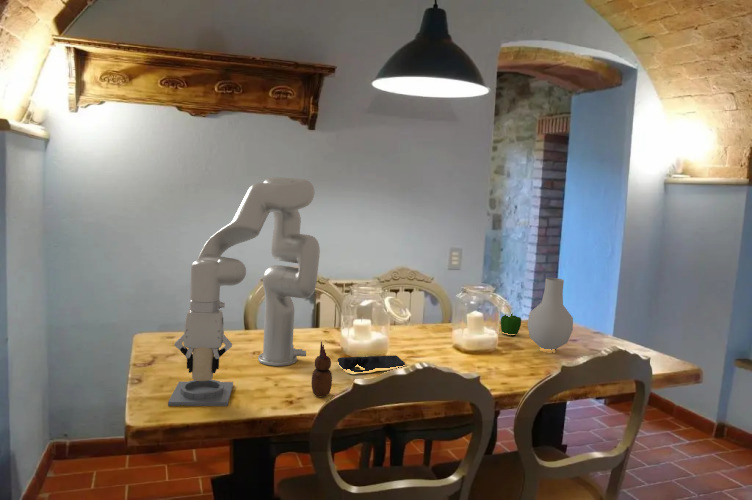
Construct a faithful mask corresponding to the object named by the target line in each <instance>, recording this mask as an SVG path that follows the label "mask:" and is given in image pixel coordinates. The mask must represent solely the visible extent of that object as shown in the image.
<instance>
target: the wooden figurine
mask: <svg viewBox="0 0 752 500" xmlns="http://www.w3.org/2000/svg"><path fill="white" fill-rule="evenodd" d="M331 366H332V360H331V357H330V356H328V355H327V352H326V349H325V344H323V342H322V341H320V347H319V355H317V356H316V357H315V359H314V367H315V369H314V370H313V371H312V374H311V391H312V394H313V395H314V396H315V395H316V396H315V397H317V396H325V397H328V396H329V395H330V392H331V389H332V385H333V374H332V373H333V372H331V369H330V368H331Z"/></svg>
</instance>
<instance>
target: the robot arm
mask: <svg viewBox="0 0 752 500" xmlns="http://www.w3.org/2000/svg"><path fill="white" fill-rule="evenodd" d="M314 197H315V187H314V185H313V183H312V182H311V181H310V180H309V179H304V178H294V177H293V178H292V177H279V176H273V177H268V178H266V179H265V180H264V181H263V182H258V183H253V184H252V185H250V187H249V188H248V189H247V191H246V193H245V195H244V197H243V199H242V201H241V203H240V205H239V206H238V208H237V210H236V213H235V214H234V216H233V218H232V220H231V221H230V222H229V223H228V224H227V225H224V226H223V227H222V228H221V229H219V230H218V231H217V232H215V233H214V234H212V236H210V237H209V239H207V240H206V242H205V243H204V244H203V247H202V248H201V250H200V253H199V255H198V257H197V259H196V260H194V261H193V262H192V264H191V268H190V296H189V297H190V303H189V309H188V310H187V312H186V316H185V320H184V321H185V323H184V331H183V334H182V335H181V336H180V337H179V339H177V340H176V341H175V342H174V343H173V344H174V345H173V346H174V347H175V348H177V349H178V350H179V351H180V352H181V353H182V354H183V355H184V357H185V358H186V370H188V373H190V374H192V362H193V349H194V348H199V347H205V348H210V349H212V350H213V353H214V358H213V370H212V373H213V374H216V372H217V370H219V368H220V358H221V357H222V356H223V355H224V354H225V353H226V352H227V351H228V350H230V349H231V348H232V347H233V343H232V342H231V341H230V340H229V338H228V337H227V336H226V335H225V328H224V327H225V326H224V325H225V323H224V315H223V310H221V309H222V308H225V307H226V303H225V302H222V301H221V299H220V298H221V297H220V295H221V293H220V291H221V286H229V287H231V286H237V285H238V284H240V283H242V282H243V281H244V279H245V277H246V275H247V267H246V265H245V264H244V262H242V261H241V260H239V259H238V258H234V257H225V256H222V254H224V253H225V252H226V251H227V250H228V249H229V248H230V249H231V248H232V247H234V246H236V245H239V244H242V243H245V242H247V241H251V240H253V239H256V238H257V237H258V236H259V235H260V233H261V231H262V228H263V227H264V224H265V222H266V220H267V218H268V216H269V214H270V213H273V218H274V219H273V220H274V222H273V230H272V240H271V255H272V257H273V259H275V260H277V261H279V262H285V263H291V264H298V267H294V266H288V265H278V264H277V265H276V264H275V265H271V266H269V267H268V268H267V269H266V270H265V271H264V273H263V277H262V285H263V291H264V292H263V293H264V321H263V322H264V323H263V325H264V327H263V347H262V348H263V351H262V353H260V354H259V355H258V357H257V358H258V359H257V360H258V361H257V362H259V363H261V364H262V365H266V366H272V367H282V366H283V367H284V366H290V365H293V364H294V363H296V362H297V359H298V357H307V350H303V348H299V349H298V348H297V349H296V347H294V346H295V345H294V327H295V326H294V324H295V323H294V322H295V305H294V302H293V299H292V298H295V299H309V298H311V297H312V296H313V294H314V293H315V291H316V286H317V281H318V273H319V272H318V271H319V265H320V264H319V263H320V257H321V255H320V253H321V249H320V243H319V241H318V239H317V238H316V237H315V236H313V235H310V234H304V233H301V223H302V221H301V219H302V218H301V214H300V212H299V210H300V209H304V208H306V207H307V206H309V205H310V204H311V203H312V202H313V200H314ZM223 344H224V346H222V345H223ZM221 347H222V348H221ZM220 348H221V349H220Z"/></svg>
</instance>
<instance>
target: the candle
mask: <svg viewBox="0 0 752 500" xmlns="http://www.w3.org/2000/svg"><path fill="white" fill-rule="evenodd" d="M192 354H193V362H192V372H191V379H192V380H196V381H208V380H211V379H212V380H213V378H214V373H212V370H213V358H214V353H213V350H212V349H210V348H205V347H199V348H194V349H193V352H192Z"/></svg>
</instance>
